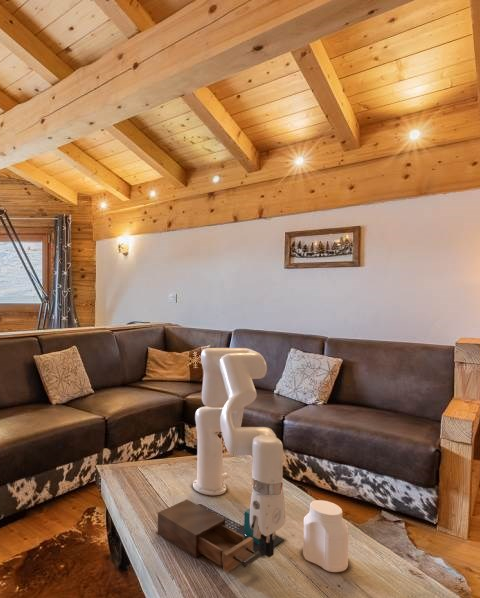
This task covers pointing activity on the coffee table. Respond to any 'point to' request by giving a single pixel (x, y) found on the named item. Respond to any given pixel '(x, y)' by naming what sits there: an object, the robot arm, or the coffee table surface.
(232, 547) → the drawer
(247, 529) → the box
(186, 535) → the cabinet
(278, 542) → the mat
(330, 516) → the jar
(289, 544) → the coffee table surface
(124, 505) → the coffee table surface
